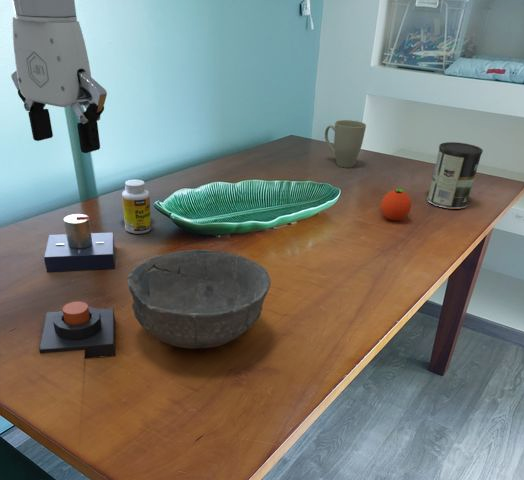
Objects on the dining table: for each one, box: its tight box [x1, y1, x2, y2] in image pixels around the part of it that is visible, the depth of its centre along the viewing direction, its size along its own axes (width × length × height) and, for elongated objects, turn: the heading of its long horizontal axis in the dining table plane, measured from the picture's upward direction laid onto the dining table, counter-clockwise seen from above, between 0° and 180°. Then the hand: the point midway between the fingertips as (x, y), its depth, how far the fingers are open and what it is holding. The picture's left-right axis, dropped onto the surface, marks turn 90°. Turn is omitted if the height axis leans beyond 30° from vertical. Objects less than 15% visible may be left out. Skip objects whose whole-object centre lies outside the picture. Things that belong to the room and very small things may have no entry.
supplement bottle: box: [121, 179, 152, 235], centre depth 112 cm, size 6×6×10 cm
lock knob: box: [63, 213, 92, 249], centre depth 99 cm, size 4×4×5 cm
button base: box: [38, 306, 116, 359], centre depth 79 cm, size 10×10×4 cm
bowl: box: [127, 249, 272, 349], centre depth 81 cm, size 21×21×10 cm
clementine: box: [380, 188, 412, 221], centre depth 126 cm, size 8×7×7 cm
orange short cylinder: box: [61, 301, 90, 325], centre depth 78 cm, size 4×4×2 cm
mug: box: [324, 119, 367, 169], centre depth 159 cm, size 11×10×12 cm
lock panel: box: [43, 232, 116, 273], centre depth 101 cm, size 12×10×3 cm
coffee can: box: [426, 141, 484, 208], centre depth 135 cm, size 10×10×14 cm
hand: (66, 144), depth 78 cm, fingers open, 9 cm apart
